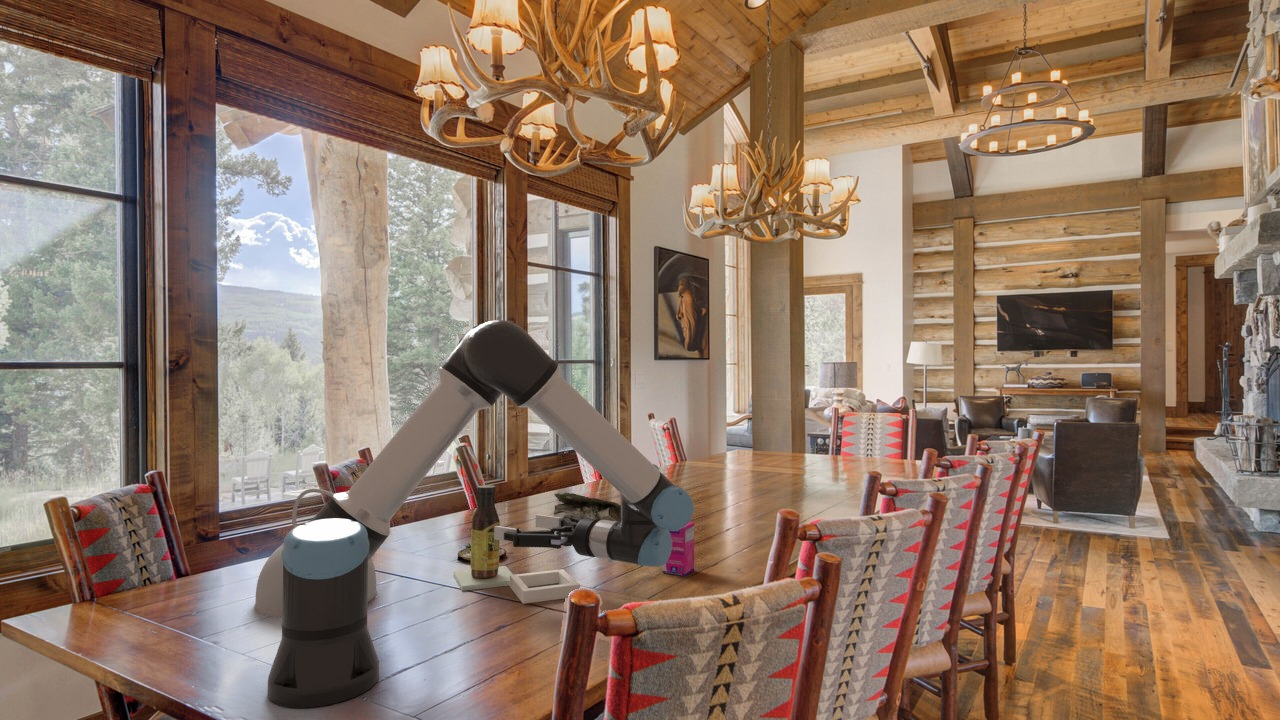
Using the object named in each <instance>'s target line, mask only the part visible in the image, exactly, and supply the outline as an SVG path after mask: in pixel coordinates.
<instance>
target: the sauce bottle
mask: <svg viewBox="0 0 1280 720" xmlns="http://www.w3.org/2000/svg"><path fill="white" fill-rule="evenodd" d="M476 488H477V489H476V491H477V503H476V504H477V505H476V506H477V508H476V509H475V511H474V512H473V515H472V518H471V528H470V529H471V530H470V531H471V532H470V534H471V535H470V536H471V537H470V545H471V560H470V570H471V575H472V576H473V577H475V578H489V577H494V576H496V575H497V574H498V568H499V566H500V557H499V547H500V540H494V526H501V522H500V518H499V514H498V512H497V508H496V502H495V500H496V498H495V496H496V492H497V491H496V489H497V488H496V485H490V484H489V485H479V486H477V487H476Z"/></svg>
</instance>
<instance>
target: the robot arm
mask: <svg viewBox="0 0 1280 720" xmlns="http://www.w3.org/2000/svg"><path fill="white" fill-rule="evenodd" d="M560 373H561V372H560V365H559V364H558V363H557V362H556V361H555V360H554V359H553V358H552V357H551V356H550V355H549V354H548V353H547V352H546V351H545V350H544V349H543V348H542V347H541V345H539V343H538V342H536V340H535V339H534V338H533V337H532V336H531V335H530V334H529V332H528V331H526V330H525V329H523V328H522V327H521V326H520V325H518V324H516V323H514V322H513V321H509V320H505V319H494V320H489V321H486V322H483V323H480V324H478V325H475V326H473V327H471V328H470V329H468V330H467V331H466V332H465V333H464V334H463V335H462V336H461V338H460V339H459V341H458V343H457V344H456V347H455V348H454V349H453V350H452V352H451V353H450V354H449V356H447V357H446V358H445V360H444V361H443V362H442V363H441V365H440V366H439V368H438V374H439V381H438V382H437V384H436V385H435V386H434V387H433V388H432V389H431V390H430V392H429V393H428V394H427V396H425V398H424V399H423V400H422V401H421V403H419V405H418V406H417V408H416V409H414V411H413V413H411V415H410V416H409V417H408V418H407V419H406V421H405V422H404V423H403V424H402V425H401V427H400V428H399V429H398V430H397V432H395V434H394V435H393V437H392V438H391V439H390V440H389V441H388V443H387V444H385V446H384V447H383V449H381V451H380V452H379V454H378V455H377V456H376V457H375V458H374V460H373V461H372V462H371V463H370V464H369V465H368V467H366V469H364V472H362V474H361V475H360V476H359V477H358V479H357V480H356V481H355V482H354V483H353V485H352V486H351V487H350V488H349V489H348V490H346V491H343V492H337V493H336V492H335V493H333V494H334V495H333V496H332V497H330V498H329V499H328V500H327V502H326V503H325V504H324V505H323V507H322V508H321V509H320V510H319V511H318V512H317V514H315V516H313V517H312V519H309V520H307V522H304V523H303V524H302V525H301V524H300V525H297V527H295V528H293V527H292V529H291V530H289V531H288V532H287V533H286V535H285V537H284V540H283V543H284V545H283V549H282V553H281V559H282V562H283V597H282V618H281V640H280V643H279V645H278V649H277V651H276V654H275V657H274V660H273V662H272V664H271V669H270V671H269V675H268V678H267V697H268V699H269V700H270V701H271V702H272V703H274V704H276V705H279V706H282V707H285V708H286V707H287V708H316V707H322V706H328V705H334V704H337V703H341V702H343V701H347V700H350V699H352V698H355V697H357V696H360V695H361V694H363V693H365V692H367V691H369V690H370V689H371V688H373V687H374V686H375V685H376V683H377V682H378V680H379V678H380V661H379V656H378V655H377V651H376V649H375V645H374V643H373V640H372V637H371V633H370V631H369V628H368V627H369V626H368V602H367V600H368V561H369V560H370V559H372V558H373V556H374V555H375V554H376V553H377V551H378V550H379V549H380V548H381V546H382V545H383V544H384V542H386V540H387V539H388V537H389V536H390V534H391V524H390V523H391V522H390V521H391V520H392V518H393V517H394V515H396V513H397V512H398V511H399V510H400V508H401V507H402V506H403V504H404V503H405V502H406V501H407V500H408V498H409V497H410V496H411V495H412V493H413V492H414V490H416V488H417V487H418V486H419V484H420V483H421V482H422V481H423V480H424V478H425V477H427V475H428V473H429V472H430V471H431V470H432V468H433V467H434V466H435V464H436V463H437V462H438V461H439V459H441V457H442V456H443V455H444V454H445V452H446V451H447V450H448V448H450V446H451V445H452V443H453V442H454V441H455V440H456V438H457V437H458V436H459V435H460V434H461V432H462V431H463V430H464V428H465V427H466V426H467V425H468V424H469V422H470V421H471V420H472V419H473V417H474V416H475V415H476V414H477V412H478V411H480V410H485V409H491V408H492V407H493V406H494V405H495V403H496V402H497V401H498V400H499V399H500V397H501V396H502V395H503V396H506V398H508V399H509V400H510V401H512V402H513V403H514V404H515V405H516V406H517V407H518V408H528V409H530V411H531V412H532V413H534V414H535V415H536V416H537V417H538V418H539V419H540V420H541V421H542V422H543V423H544V424H545V425H546V426H548V427H549V428H550V429H551V430H552V431H553V432H554V433H555V434H557V435H558V437H560V438H561V439H562V440H563V441H564V442H565V443H566V444H568V446H570V448H571V449H572V450H574V451H575V452H576V453H577V454H578V455H579V456H580V457H582V459H584V461H586V463H588V464H589V465H590V466H591V467H592V468H593V469H594V470H595V471H596V472H597V473H598V474H600V475H601V476H602V477H603V478H604V480H606V481H607V482H609V483H610V485H611V486H612V487H614V488H615V489H616V490H617V491H618V492H619V493H620V505H621V522H617V521H609V520H599V519H592V518H583V519H580V518H577V517H574V516H570V517H569V519H568V518H567V517H564V518H562V519H561V517H554V516H553V515H545V514H535V528H539V529H542V530H522V529H520V527H516V528H514V527H508V526H507V527H506V526H501V525H500V526H494V540H499V541H501V542H508V543H512V547H513V548H545V549H546V548H550V549H557V550H560V549H562V546H563V547H573V549H574V551H575V552H576V553H577V554H578V555H579V556H584V557H590V558H598V559H603V560H605V559H606V560H607V562H608V563H613V561H616V562H622V563H628V564H632V565H637V566H640V567H643V566H644V567H653V568H659V567H663V565H664V564H665V563H666V562H667V561H668V559H669V557H670V554H671V550H672V539H671V534H670V532H669V531H677V530H680V529H682V528H684V527H685V526H686V525H687V524H688V523H689V522H691V520H692V518H693V516H694V510H695V505H694V501H693V498H692V497H691V496H692V495H690V494H689V492H687V491H685V490H684V489H683V488H682V487H680V486H677V485H675V484H674V483H673V482H672V481H671V480H670V479H668V477H667V476H665V475H664V474H663V473H662V472H661V471H660V469H659V466H658V465H657V464H654V463H652V462H651V461H650V460H649V459H648V458H647V457H646V456H645V455H644V454H642V452H640V451H639V450H638V448H636V447H635V445H633V444H632V443H631V442H630V441H629V440H628V439H627V438H626V437H625V436H624V435H623V434H622V433H621V432H620V431H619V430H618V429H617V428H615V427H614V425H612V423H611V422H610V421H608V419H606V418H605V417H604V416H603V415H602V414H601V413H600V412H599V411H598V410H597V409H596V408H595V407H594V406H593V405H592V404H591V403H590V402H589V401H587V399H585V398H584V397H583V395H581V394H580V393H579V392H578V391H577V389H575V388H574V387H573V386H572V385H571V384H570V383H569V382H568V381H567V380H566V379H565V378H564V377H562V375H561V374H560ZM543 529H544V530H543ZM668 530H669V531H668ZM555 532H556V533H555Z"/></svg>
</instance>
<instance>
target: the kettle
mask: <svg viewBox="0 0 1280 720" xmlns="http://www.w3.org/2000/svg"><path fill="white" fill-rule="evenodd" d="M310 493H316V494H317V493H318V494H323V495H325V496H328V497H330V498H331V497H332V496H333V495H334V494H335V493H334V492H331V491H329V490H326V489H321V488H308V489H305V490H303V491H302V492H301V493H300V494H299V495H298V496H297V498H296V499H295V501H294V503H293V507H292V511H291V513H292V514H291V523H292V529H293V528H295V527H297V526H298V524H297V514H298V513H297V511H298V507H299V504H300V502H301V500H302V498H303V497H304V496H306V495H308V494H310ZM283 545H284V542H283V543H282V544H281V545H279V546H278V547H277V548H276V549H275V550H274V551H273V553H271V555H270V556H269V557H268V558H267V560H266V561H265V563H264V565H263V567H262V568H261V571H260V573H259V575H258V579H257V582H256V589H255V590H256V591H255V603H254V610H255V611H256V612H257V613H259V614H260V615H263V616H267V617H272V618H281V619H282V597H283V562H282V559H281V553H282V549H283ZM376 573H377V572H376V568H375V563H374V562H373V559H372V558H371V559H370V560H369V561H368V600H367V603H369V602H370V601H372V600H373V599H374V598H375V597H376V596H377V592H378V591H377V574H376Z"/></svg>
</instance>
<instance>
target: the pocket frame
mask: <svg viewBox="0 0 1280 720" xmlns="http://www.w3.org/2000/svg"><path fill="white" fill-rule="evenodd" d="M509 588H510V589H511V590H512V592H513V593H514V594H515V595H516V597H517V599H519V600H520V602H521V603H522V604H523V605H525V604H531V603H539V602H540V603H541V602H545V601H546V602H548V601H554V600H555V601H556V600H561V599H569V598H568V595H569V593H570V592H571V591H573V590H575V589H579V588H580V589H581V584H580V583H579V582H578V581H577V580H576V579H575V578H573V577H572V576H571V575H570V573H567V572H566V571H565V570H564V569H563V568H561V569H552V570H545V571H536V572H525V573H519V574H518V573H516V574H513V575H510V585H509Z"/></svg>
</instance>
